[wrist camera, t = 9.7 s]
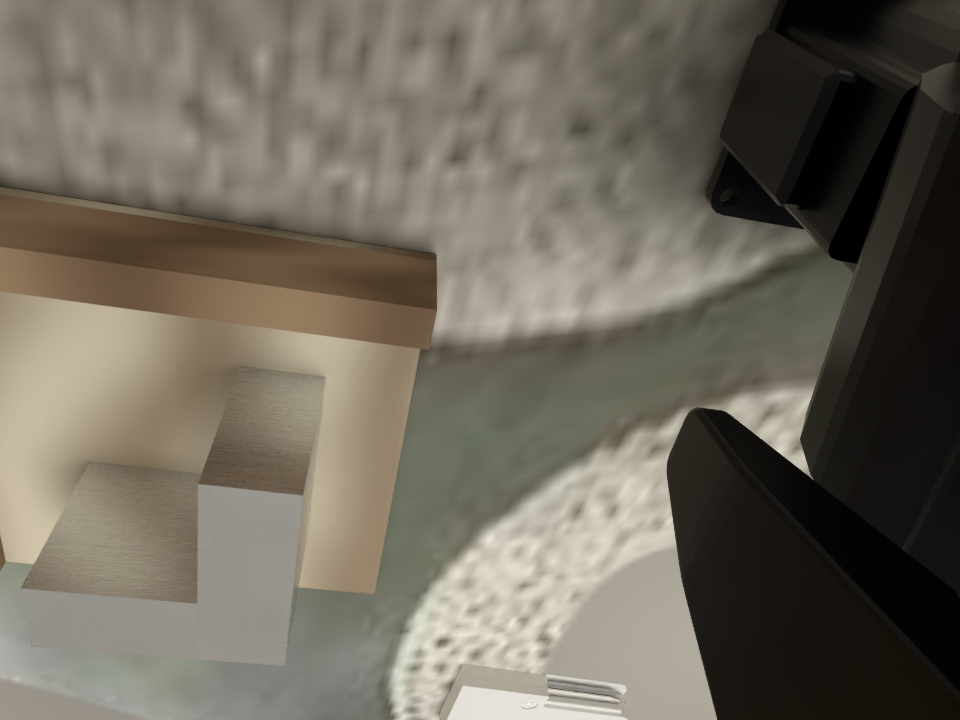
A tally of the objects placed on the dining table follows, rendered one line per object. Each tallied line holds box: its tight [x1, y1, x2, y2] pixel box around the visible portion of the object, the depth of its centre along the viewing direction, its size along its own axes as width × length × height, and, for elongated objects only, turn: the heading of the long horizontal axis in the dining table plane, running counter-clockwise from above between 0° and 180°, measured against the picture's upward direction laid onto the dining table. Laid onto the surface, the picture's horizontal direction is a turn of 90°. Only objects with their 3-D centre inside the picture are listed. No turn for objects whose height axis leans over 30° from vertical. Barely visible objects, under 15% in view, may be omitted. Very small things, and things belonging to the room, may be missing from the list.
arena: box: [0, 187, 437, 594], centre depth 23 cm, size 14×14×3 cm
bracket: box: [21, 366, 326, 666], centre depth 23 cm, size 7×7×5 cm
